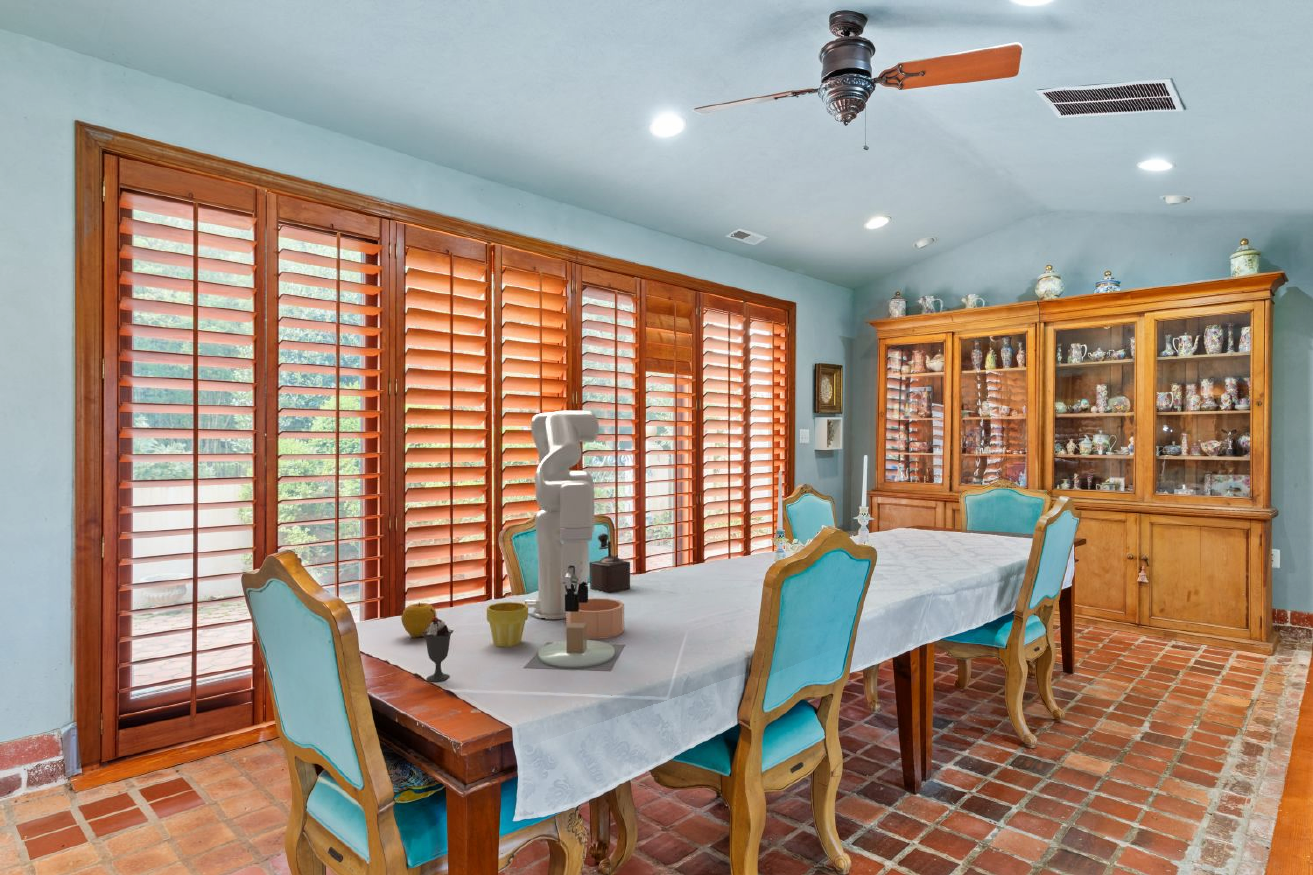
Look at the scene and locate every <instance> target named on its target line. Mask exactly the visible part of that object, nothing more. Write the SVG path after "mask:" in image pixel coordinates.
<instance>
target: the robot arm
mask: <svg viewBox="0 0 1313 875" xmlns="http://www.w3.org/2000/svg"><path fill="white" fill-rule="evenodd" d="M530 427H531V429H530V430H531V436H532V438H533V442H534V445H535V447H536V449H537V453H538V458H539V464H538V466H537V468H536V471H535V474H534V488H535V489H534V490H535V499H536V504H537V506H538V508H539V509H540V510H539V511H538V512H536V515H535V518H534V527H535V533H536V540H537V553H538V554H537V557H538V558H537V561H538V562H537V563H538V566H537V567H538V570H537V571H538V574H537V575H538V576H537V577H538V578H537V579H538V584H537V585H538V594H537V595H538V597H537V598H536V599H534V600H533V599H525V601H524V604H526V605H528V609H529V608H534V610H533V612H532V615H533V616H534V617H535V618H538V619H541V618H545V619H544V620H562V619H566V612H578V611H579V603H587V602H588V599H589V585H588V584H589V581H588V578H589V577H590V547H589V542H591V541H593V535H594V532H595V485H594V480H593V476H592V475H591V473H590V472H589V471H587V470H570V468H572V467H574V466H576V465H577V464H578V463H579V462H580V460H581V457H582V448H581V444H580V442H581V443H583V442H584V443H585V442H588V443H589V442H594V441H596V439H597V438H598V436H599V432H600V423H599V420H598V417H597V416H596V414H595V413H594V412H593V411H592V410H591V411H590V410H557V411H553V412H551V411H550V412H542V413H537V414H535V415H534V416H533V417H532V419H531V424H530Z"/></svg>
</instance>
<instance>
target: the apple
mask: <svg viewBox="0 0 1313 875" xmlns="http://www.w3.org/2000/svg"><path fill="white" fill-rule="evenodd" d="M430 609H432V610H433V611H434V613H435V617H437V611H436V609H435V607H433V605H432V604H431V603H428V602H427V603H426V602H418V603H413V604H409V605H407V606H406V607H405V608H404V610H403V612H402V614H401V617H400V619H401V623H402V626H403V627H404V630H405V631H406V632H407V633H408V635H410V637H411V638H420V637H423V635H422V632H424V631H427V629H428V626H429V625H430V624H431V620H432V619H433V618H434V613H433V612H432V611H430Z"/></svg>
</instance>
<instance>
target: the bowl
mask: <svg viewBox="0 0 1313 875" xmlns="http://www.w3.org/2000/svg"><path fill="white" fill-rule="evenodd" d="M565 619H566V623H565V624H566V627H567V626H568V625H569V624H570V623H587V640H595V639H596V640H598V639H606V638H612V637H613V638H614V637H616V636H619V635H621V634H622V633H624V629H625V603H624V602H622V601H620V600H619V599H618V600H617V599H611V598H598V597H595V598H594V597H593V598H588V602H587V603H579V611H578V612H566V618H565ZM566 627H565V628H566Z"/></svg>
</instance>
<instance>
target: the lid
mask: <svg viewBox="0 0 1313 875" xmlns="http://www.w3.org/2000/svg"><path fill="white" fill-rule="evenodd" d="M565 628H566V640H562V641H561V640H559V641H556V642H553V643H552V644H549V645H546V646H544V645H543V646H544V647H543V646H542V647H541V648H540V649H539V650H538V651H537V653H538V658H539V660H540V661H541V662H542V663H544V664H547V665H550V666H554V667H562V668H582V667H590V666H596V665H600V664H603V663H606V662H608V661H610V660H612V659H613V658H614V656H615V649H614V647H613V646H611V645H610V644H611V643H607V642H605V641H599V640H595V639H587V623H570V624H569V625H568V626H567V627H565Z"/></svg>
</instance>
